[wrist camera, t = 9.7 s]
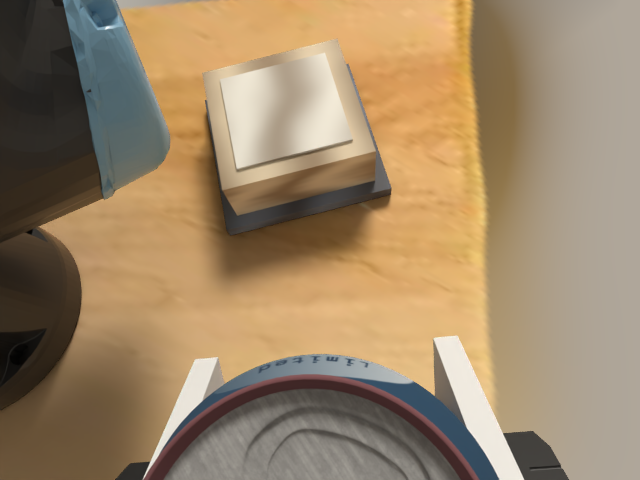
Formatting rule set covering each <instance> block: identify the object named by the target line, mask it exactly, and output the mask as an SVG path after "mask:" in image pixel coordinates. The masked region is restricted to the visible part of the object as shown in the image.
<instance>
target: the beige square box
mask: <svg viewBox="0 0 640 480" xmlns="http://www.w3.org/2000/svg"><path fill="white" fill-rule="evenodd" d="M202 74H203V80H204V86H205V92H206V97H207V100H205V103H206V109H207V115H208V121H209V127H210V133H211V139H212V145H213V151H214V157H215V163H216V169H217V175H218V181H219V187H220V193H221V199H222V205H223V211H224V217H225V223H226V229H227V231H228V233H229V234H230V235H234V234H238V233H242V232H246V231H250V230H254V229H258V228H262V227H266V226H269V225H273V224H277V223H281V222H285V221H289V220H293V219H297V218H301V217H305V216H309V215H312V214H316V213H320V212H324V211H328V210H332V209H336V208H340V207H344V206H348V205H351V204H355V203H359V202H363V201H367V200H371V199H375V198H379V197H383V196H387V195H391V186H390V183H389V180H388V177H387V174H386V171H385V168H384V165H383V162H382V160H381V157H380V154H379V151H378V148H377V145H376V142H375V139H374V136H373V134H372V131H371V128H370V125H369V122H368V119H367V116H366V113H365V110H364V108H363V105H362V102H361V99H360V96H359V93H358V90H357V87H356V85H355V82H354V79H353V76H352V73H351V70H350V67H349V64H346V63H345V60H344V57H343V54H342V51H341V48H340V45H339V42H338V39H334V40H330V41H326V42H322V43H318V44H314V45H310V46H306V47H302V48H298V49H295V50H291V51H287V52H283V53H279V54H275V55H271V56H267V57H263V58H259V59H255V60H251V61H247V62H243V63H240V64H236V65H232V66H228V67H224V68H220V69H216V70H212V71H208V72H204V73H202Z"/></svg>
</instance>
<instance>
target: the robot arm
mask: <svg viewBox="0 0 640 480" xmlns="http://www.w3.org/2000/svg"><path fill="white" fill-rule="evenodd" d="M169 148H170V134H169V130H168V127H167V125H166V122H165V119H164V117H163V114H162V112H161V109H160V107H159V104H158V102H157V99H156V97H155V94H154V92H153V89H152V87H151V85H150V82H149V80H148V77H147V75H146V72H145V70H144V67H143V65H142V62H141V60H140V57H139V55H138V53H137V50H136V48H135V45H134V43H133V40H132V38H131V36H130V33H129V31H128V29H127V26H126V24H125V21H124V19H123V16H122V14H121V11H120V9H119V6H118V4H117V1H116V0H0V410H1V409H3V408H5V407H7V406H9V405H10V404H12V403H14V402H15V401H17V400H18V399H20V398H21V397H22V396H24V395H25V394H26V393H28V392H29V391H30V390H31V389H33V388H34V387H35V386H36V385H37V384H38V383H39V382H40V381H41V380H42V379H43V378H44V377H45V376H46V375H47V374H48V372H49V371H50V370H51V369H52V367H53V366H54V365H55V364H56V362H57V361H58V359H59V358H60V356H61V355H62V353H63V352H64V350H65V348H66V346H67V344H68V342H69V340H70V338H71V336H72V334H73V331H74V328H75V326H76V322H77V319H78V315H79V310H80V304H81V281H80V275H79V271H78V268H77V265H76V263H75V260H74V258H73V257H72V255H71V253H70V252H69V250H68V249H67V248H66V247H65V245H64V244H63V243H62V242H61V241H59V240H58V239H57V238H56V237H54V236H53V235H51V234H49V233H48V232H46V231H45V230H43V229H42V228H40V227H38V226H41V225H43V224H45V223H48V222H50V221H52V220H54V219H57V218H59V217H61V216H64V215H66V214H68V213H71V212H73V211H75V210H77V209H80V208H82V207H84V206H87V205H89V204H91V203H94V202H96V201H98V200H100V199H104V200H105V199H108V198H109V197H111V196H113V194H114V192H115V190H117V189H119V188H121V187H123V186H125V185H127V184H129V183H131V182H133V181H134V180H136V179H138V178H140V177H142V176H144V175H146V174H148V173H150V172H152V171H154V170H155V169H157V168H158V166H159V165H160V164H161V163H162V162H163V161H164V159H165V157H166V155H167V153H168V151H169ZM433 346H434V378H435V397H436V398H437V399H438V400H440V401H441V402H442V403H443V404H444V405H445V406H446V407H447V408H448V409H449V410H451V411H452V412H453V413H454V414H455V415H456V417H457V418H458V419H459V420H460V421H461V422H462V423H463V424H464V425H465V427H466V428H467V429H468V430H469V432H470V433H471V434H472V435H473V437H474V438H475V439H476V441H477V442H478V444H479V445H480V447H481V448H482V450H483V451H484V453H485V454H486V456H487V458H488V459H489V461H490V463H491V464H492V466H493V468H494V470H495V472H496V474H497V476H498V478H499V480H569V479H568V477H567V475H566V474H565V472H564V470H563V469H562V468H561V465H560V463H559V461H558V460H557V458H556V456H555V454H554V452H553V451H552V449H551V447H550V446H549V445H548V444H547V443H546V442H544V441H543V440H542V439H541V438H540V437H539V436H538V435H537V434H535V433H534V432H533V431H527V432H514V433H502V431H501V428H500V426H499V424H498V422H497V420H496V418H495V416H494V413H493V411H492V409H491V407H490V405H489V403H488V400H487V398H486V396H485V394H484V392H483V390H482V387H481V385H480V383H479V381H478V379H477V377H476V375H475V372H474V370H473V368H472V366H471V364H470V362H469V359H468V357H467V355H466V353H465V351H464V349H463V346H462V344H461V342H460V340H459V338H458V336H448V337H437V338H433ZM223 385H224V380H223V376H222V372H221V367H220V363H219V359H218V357H215V358H204V359H195V361H194V363H193V366H192V368H191V370H190V372H189V375H188V377H187V379H186V382H185V384H184V386H183V388H182V391H181V393H180V395H179V398H178V400H177V402H176V404H175V407H174V409H173V411H172V414H171V416H170V418H169V420H168V423H167V425H166V427H165V430H164V432H163V434H162V436H161V439H160V441H159V443H158V446H157V448H156V450H155V452H154V455H153V457H152V459H151V462H141V463H130V464H129V465H128V466H127V467H126V468H125V469H124V471H123V472H122V473H121V474H120V475H119V476H118V477H117V478H116V479H115V480H143V479H144V478H145V476H146V474H147V472H148V471H149V469H150V468H151V466H152V465H153V463H154V462H155V460H156V459H157V457H158V456H159V454H160V452H161V450H162V449H163V447H164V446H165V444H166V443H167V441H168V440H169V438H170V437H171V435H172V434H173V432H174V431H175V430H176V429H177V427H178V426H179V425H180V423H181V422H182V421H183V420H184V419H185V418H186V417H187V416H188V414H189V413H190V412H191V411H192V410H193V409H194V408H195V407H197V406H198V405H199V404H200V403H201V402H202V401H203V400H204V399H205V398H207V397H208V396H209V395H210V394H212V393H213V392H214V391H216V390H217V389H218V388H220V387H221V386H223Z"/></svg>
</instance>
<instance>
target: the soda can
mask: <svg viewBox="0 0 640 480" xmlns="http://www.w3.org/2000/svg"><path fill="white" fill-rule="evenodd" d="M143 480H499V478H498V476H497V474H496V472H495V470H494V468H493V466H492V464H491V463H490V461H489V459H488V458H487V456H486V454H485V453H484V451H483V450H482V448H481V447H480V445H479V444H478V442H477V441H476V439H475V438H474V437H473V435H472V434H471V433H470V432H469V430H468V429H467V428H466V427H465V425H464V424H463V423H462V422H461V421H460V420H459V419H458V418H457V417H456V415H455V414H454V413H453V412H452V411H451V410H449V409H448V408H447V407H446V406H445V405H444V404H443V403H442V402H441V401H440V400H438V399H437V398H436V397H435V396H434V395H432V394H431V393H430V392H428V391H427V390H426V389H424V388H423V387H421V386H420V385H419V384H417V383H415V382H414V381H412V380H410V379H409V378H407V377H405V376H403V375H401V374H399V373H397V372H395V371H394V370H391V369H389V368H386V367H384V366H382V365H379V364H376V363H373V362H370V361H366V360H362V359H358V358H354V357H348V356H341V355H329V354H312V355H300V356H294V357H288V358H284V359H280V360H276V361H272V362H269V363H266V364H263V365H261V366H258V367H256V368H253V369H251V370H249V371H247V372H245V373H243V374H241V375H239V376H237V377H235V378H234V379H232V380H230V381H229V382H227V383H225V384H224V385H223V386H221V387H220V388H218V389H217V390H216V391H214V392H213V393H212V394H210V395H209V396H208V397H207V398H205V399H204V400H203V401H202V402H201V403H200V404H199V405H198V406H197V407H195V408H194V409H193V410H192V411H191V412H190V413H189V414H188V416H187V417H186V418H185V419H184V420H183V421H182V422H181V423H180V425H179V426H178V427H177V429H176V430H175V431H174V432H173V434H172V435H171V437H170V438H169V440H168V441H167V443H166V444H165V446H164V447H163V449H162V450H161V452H160V454H159V456H158V457H157V459H156V460H155V462H154V463H153V465H152V466H151V468H150V469H149V471H148V472H147V474H146V476H145V478H144V479H143Z"/></svg>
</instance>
